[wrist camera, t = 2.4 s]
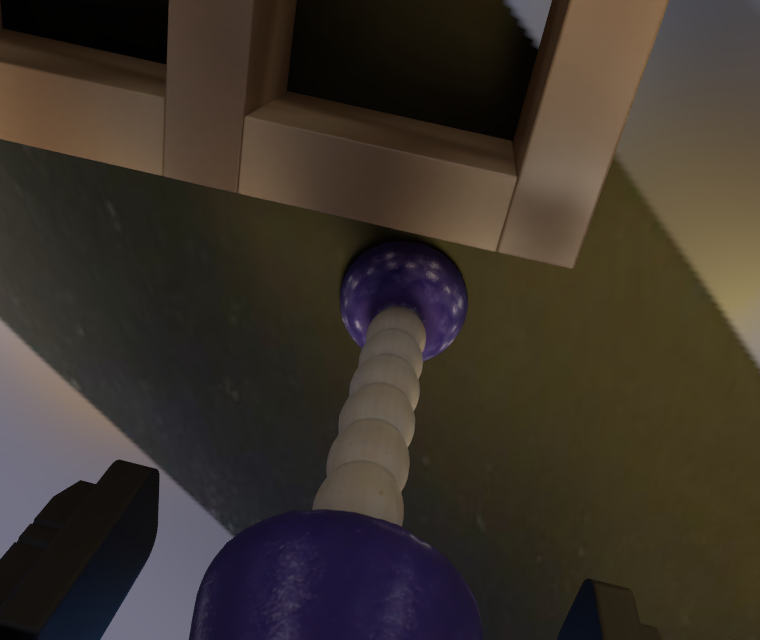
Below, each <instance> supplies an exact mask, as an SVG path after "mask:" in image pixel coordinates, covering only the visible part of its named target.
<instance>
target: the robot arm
mask: <svg viewBox="0 0 760 640" xmlns="http://www.w3.org/2000/svg"><path fill="white" fill-rule="evenodd" d="M158 502H159V471H158V470H157V469H155V468H151V467H147V466H143V465H139V464H135V463H131V462H126V461H123V460H116V461H115V462H114V463H113V464H112V465H111V466H110V467H109V468H108V470H107V471H106V472H105V474H104V475H103V476H102V477H101V479H100V480H99V481H98V482H97V484H93V483H89V482H85V481H81V480H80V481H78V482H77V483H75V484H74V485H72V486H70V487H69V488H67V489H65V490H64V491H62V492H61V493H59V494H57V495H55V496H54V497H53V498H52V499H51V500H50V501H49V503H48V504H47V505H46V506H45V507H44V508H43V510H42V511H41V512H40V513H39V514H38V515H37V517H36V518H35V519H34V522H33V524H30V525H29V526H28V527H27V528H26V530H25V531H24V532H23V533H22V534H21V535H20V537H19V539H18V541H17V543H16V542H15V543H14V544H13V545H12V546H11V547H10V549H9V550H8V551H7V552H6V553H5V554H4V556H3V557H2V558H1V559H0V640H100V639H101V637H102V636H103V634H104V632H105V631H106V629H107V627H108V626H109V624H110V622H111V621H112V619H113V617H114V616H115V614H116V612H117V611H118V609H119V607H120V606H121V604H122V602H123V600H124V599H125V597H126V595H127V594H128V592H129V590H130V589H131V587H132V585H133V584H134V582H135V580H136V578H137V577H138V575H139V573H140V572H141V570H142V568H143V567H144V565H145V563H146V561H147V560H148V558H149V556H150V553H151V551H152V548H153V545H154V542H155V538H156V534H157V527H158V504H159V503H158ZM557 640H664V638H663V636H662V635H661V633H660V632H659V630H658V629H657V627H653V626H649V625H645V624H641V623H640V620H639V616H638V611H637V607H636V603H635V599H634V595H633V593H632V591H631V590H630V589H628V588H624V587H620V586H616V585H612V584H608V583H604V582H600V581H596V580H592V579H586V580H585V581H584V582H583V584H582V586H581V588H580V590H579V592H578V594H577V596H576V598H575V600H574V602H573V605H572V607H571V609H570V611H569V613H568V615H567V617H566V619H565V621H564V624H563V626H562V628H561V630H560V632H559V635H558V639H557Z"/></svg>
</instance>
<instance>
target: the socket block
mask: <svg viewBox="0 0 760 640" xmlns="http://www.w3.org/2000/svg"><path fill="white" fill-rule="evenodd" d="M668 2H669V0H552V3H551V7H550V10H549V14H548V17H547V21H546V25H545V28H544V32H543V35H542V39H541V43H540V46H539V50H538V53H537V57H536V60H535V64H534V68H533V71H532V75H531V78H530V82H529V86H528V89H527V93H526V96H525V100H524V103H523V107H522V111H521V114H520V118H519V121H518V125H517V129H516V132H515V136H514V139H513V143H512V141H511V140H506V139H501V138H497V137H492V136H488V135H483V134H479V133H474V132H470V131H465V130H461V129H456V128H452V127H447V126H443V125H438V124H434V123H429V122H425V121H420V120H416V119H411V118H406V117H402V116H397V115H393V114H388V113H384V112H379V111H375V110H370V109H366V108H361V107H357V106H352V105H348V104H343V103H339V102H334V101H330V100H325V99H321V98H316V97H311V96H307V95H302V94H298V93H293V92H289V91H288V92H287V83H288V74H289V66H290V57H291V48H292V39H293V30H294V22H295V13H296V4H297V0H169V9H168V42H167V65H166V64H162V63H157V62H153V61H148V60H144V59H139V58H135V57H130V56H126V55H121V54H117V53H112V52H107V51H103V50H98V49H94V48H89V47H85V46H80V45H76V44H71V43H67V42H62V41H58V40H53V39H49V38H44V37H40V36H35V35H31V34H26V33H22V32H17V31H12V30H8V29H3V25H2V12H1V0H0V139H3V140H7V141H11V142H16V143H20V144H25V145H29V146H33V147H38V148H42V149H47V150H51V151H55V152H60V153H64V154H69V155H73V156H77V157H82V158H86V159H90V160H95V161H99V162H104V163H108V164H112V165H117V166H121V167H126V168H130V169H134V170H139V171H143V172H147V173H152V174H156V175H164V176H165V177H168V178H173V179H177V180H182V181H186V182H190V183H195V184H199V185H203V186H208V187H212V188H217V189H221V190H225V191H230V192H234V193H237V192H238V193H239V194H243V195H248V196H252V197H256V198H261V199H265V200H270V201H274V202H278V203H283V204H287V205H291V206H296V207H300V208H305V209H309V210H313V211H318V212H322V213H327V214H331V215H335V216H340V217H344V218H349V219H353V220H357V221H362V222H366V223H370V224H375V225H379V226H384V227H388V228H392V229H397V230H401V231H406V232H410V233H414V234H419V235H423V236H427V237H432V238H436V239H441V240H445V241H449V242H454V243H458V244H463V245H467V246H471V247H476V248H480V249H484V250H489V251H493V252H495V251H496V250H497V251H498V252H499V253H503V254H507V255H512V256H516V257H520V258H525V259H529V260H534V261H538V262H542V263H547V264H551V265H556V266H560V267H564V268H569V269H573V268H574V267H575V264H576V262H577V259H578V256H579V253H580V250H581V247H582V245H583V242H584V239H585V236H586V233H587V231H588V228H589V225H590V222H591V219H592V216H593V214H594V211H595V208H596V205H597V202H598V200H599V197H600V194H601V191H602V188H603V185H604V183H605V180H606V177H607V174H608V171H609V169H610V166H611V163H612V160H613V157H614V154H615V152H616V149H617V146H618V143H619V140H620V137H621V134H622V132H623V129H624V126H625V123H626V120H627V118H628V115H629V112H630V109H631V106H632V104H633V101H634V98H635V95H636V92H637V89H638V87H639V84H640V81H641V78H642V75H643V73H644V70H645V67H646V64H647V61H648V58H649V56H650V53H651V50H652V47H653V44H654V42H655V39H656V36H657V33H658V30H659V28H660V25H661V22H662V19H663V16H664V13H665V10H666V8H667V5H668Z"/></svg>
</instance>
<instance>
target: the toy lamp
mask: <svg viewBox="0 0 760 640" xmlns="http://www.w3.org/2000/svg"><path fill="white" fill-rule="evenodd" d="M340 308H341V315H342V319H343V321H344V324H345V326H346V328H347V330H348V332H349V334H350V336H351V337H352V338H353V339H354V341H355V342H356V343H357V344H358V345H359V346H360V347H361V348H362V350H361V353H360V357H359V367H358V369H357V370H356V371H355V373H354V375H353V377H352V380H351V383H350V391H349V396H350V397H349V398H348V399H347V401H346V402H345V404H344V406H343V408H342V411H341V413H340V417H339V435H338V436H337V438H336V439H335V441H334V442H333V444H332V447H331V449H330V451H329V455H328V460H327V470H326V472H327V478H326V479H325V481H324V482H323V484H322V485H321V487H320V488H319V490H318V492H317V494H316V497H315V499H314V504H313V508H312V510H309V511H296V510H293V511H289V512H285V513H282V514H279V515H276V516H273V517H271V518H268V519H264V520H262V521H260V522H258V523H256V524H254V525H252V526H250V527H248V528H247V529H245V530H243V531H242V532H240V533H239V534H238V535H236V536H235V537H234V538H233V539H231V540H230V541H229V542H227V543H226V545H225V546H224V547H223V548H222V549H221V550H220V552H219V553H218V554H217V555H216V557H215V558H214V559H213V561H212V563H211V564H210V566H209V567H208V569H207V571H206V573H205V575H204V577H203V580H202V582H201V585H200V587H199V590H198V593H197V597H196V602H195V607H194V613H193V618H192V624H191V631H190V637H189V640H483V633H482V623H481V618H480V614H479V610H478V606H477V603H476V600H475V597H474V594H473V592H472V590H471V589H470V587H469V585H468V584H467V583H466V581H465V580H464V579H463V577H462V575H461V574H460V572H459V571H458V570H457V569H456V568H455V567H454V566H453V565H452V563H451V562H450V561H449V560H448V558H447V557H446V556H445V555H443V554H442V553H440V552H439V551H438V550H437V549H435V548H434V547H433V546H431V545H430V544H428V543H427V542H425V541H423V540H422V539H420V538H418V537H417V536H414V535H413V534H412V533H410V532H409V531H408V530H407V529H405V528H403V527H402V522H403V513H404V507H403V498H402V495H401V491H402V489H403V487H404V485H405V483H406V480H407V477H408V472H409V452H408V446H409V444H410V442H411V440H412V437H413V434H414V429H415V416H414V409H415V408H416V406H417V403H418V399H419V393H420V386H419V381H418V379H419V377H420V374H421V372H422V366H423V361H425V360H428V359H430V358H432V357H434V356H436V355H438V354H440V353H441V352H442V351H444V350H445V349H446V348H447V347H448V346H449V345H450V344H451V343H452V342H453V340H454V339H455V338H456V336H457V335H458V334H459V332H460V330H461V328H462V326H463V324H464V321H465V318H466V314H467V309H468V297H467V291H466V287H465V284H464V282H463V280H462V276H461V274H460V272H459V271H458V270H457V268H456V267H455V266H454V264H453V263H452V262H451V261H450V260H449V259H448V258H447V257H445V256H444V255H443V254H441V253H440V252H439V251H437V250H434V249H432V248H431V247H429V246H427V245H424V244H421V243H416V242H411V241H394V242H387V243H384V244H381V245H378V246H376V247H373V248H371V249H369V250H367V251H366V252H364V253H363V254H362V255H361V256H359V257H358V258H357V259H356V260H355V262H354V263H353V264H352V265H351V266H350V267H349V269H348V271H347V273H346V275H345V277H344V280H343V283H342V286H341V292H340Z"/></svg>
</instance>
